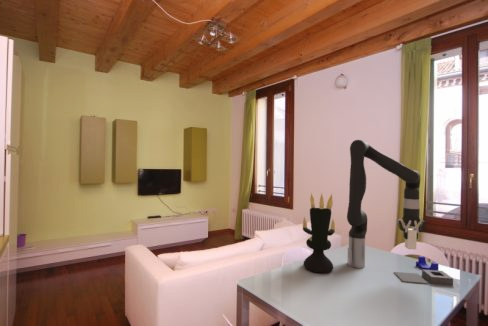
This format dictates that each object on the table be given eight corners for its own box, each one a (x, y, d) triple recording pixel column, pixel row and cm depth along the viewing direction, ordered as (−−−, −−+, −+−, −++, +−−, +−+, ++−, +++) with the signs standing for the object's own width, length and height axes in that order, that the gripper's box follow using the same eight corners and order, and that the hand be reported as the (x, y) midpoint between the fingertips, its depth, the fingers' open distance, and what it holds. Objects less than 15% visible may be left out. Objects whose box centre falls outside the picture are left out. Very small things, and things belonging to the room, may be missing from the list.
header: (431, 283, 138) (431, 276, 138) (421, 275, 148) (422, 269, 148) (453, 285, 136) (453, 278, 136) (442, 277, 146) (442, 270, 146)
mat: (402, 282, 139) (402, 280, 139) (393, 272, 151) (393, 271, 151) (428, 284, 137) (428, 283, 137) (417, 274, 149) (417, 273, 149)
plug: (408, 248, 143) (408, 230, 143) (404, 246, 147) (405, 228, 147) (416, 249, 142) (416, 230, 142) (412, 247, 146) (413, 228, 146)
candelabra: (333, 263, 163) (334, 189, 163) (340, 279, 141) (341, 193, 141) (301, 261, 166) (303, 188, 167) (303, 275, 145) (304, 192, 145)
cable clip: (415, 266, 162) (416, 256, 162) (423, 266, 163) (423, 256, 163) (430, 274, 150) (430, 263, 150) (438, 274, 151) (438, 263, 151)
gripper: (399, 207, 142) (399, 240, 142) (429, 209, 139) (428, 242, 139) (394, 205, 149) (393, 236, 149) (422, 206, 147) (421, 238, 147)
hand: (410, 239), depth 144 cm, fingers closed on plug, 4 cm apart
